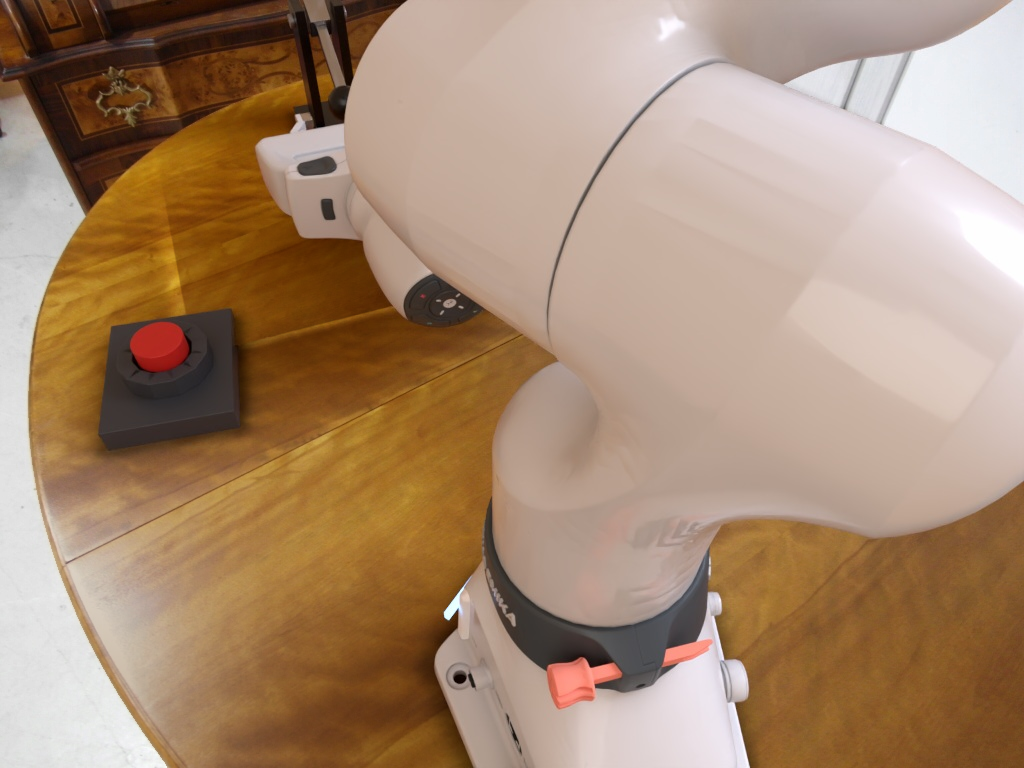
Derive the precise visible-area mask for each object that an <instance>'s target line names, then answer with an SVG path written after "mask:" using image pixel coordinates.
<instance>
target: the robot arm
mask: <svg viewBox="0 0 1024 768" xmlns="http://www.w3.org/2000/svg"><path fill="white" fill-rule="evenodd" d="M1012 2H1013V0H406V1H405V2H403V3H402V4H401V5H400V6H399V7H397V8H396V9H395V10H394V11H393V12H392V14H391V15H389V17H388V18H387V19H386V20H385V21H384V22H383V23H382V25H381V26H380V27H379V28H378V30H377V31H376V33H375V34H374V36H373V37H372V38H371V40H370V42H369V43H368V45H367V47H366V48H365V50H364V52H363V53H362V56H361V58H360V60H359V63H358V65H357V67H356V70H355V73H354V74H353V76H354V78H353V81H352V84H351V88H350V91H349V95H348V100H347V104H346V111H345V120H344V123H343V124H338V125H333V126H327V127H322V128H316V129H314V122H313V118H312V116H311V114H310V112H309V113H302V114H296V113H295V114H294V120H295V124H294V125H293V127H292V128H291V130H290V131H289V133H283V134H280V135H274V136H268V137H267V136H266V137H264V138H262V139H260V140H259V141H258V142H257V143H256V145H255V146H254V151H255V155H256V159H257V163H258V166H259V171H260V173H261V177H262V180H263V182H264V185H265V187H266V189H267V191H268V193H269V194H270V196H271V198H272V199H273V201H274V203H275V204H276V206H277V207H278V209H280V210H281V211H282V212H283V213H284V214H286V215H288V216H290V217H291V218H292V220H293V224H294V227H295V229H296V232H297V233H298V235H299V236H300V237H301V238H303V239H341V240H342V239H343V240H344V239H345V240H355V241H361V242H362V246H363V247H362V248H363V253H364V255H365V258H366V261H367V263H368V265H369V268H370V271H371V272H372V275H373V277H374V279H375V280H376V282H377V284H378V286H379V287H380V289H381V292H382V293H383V295H384V296H385V298H386V299H387V300H388V302H389V303H390V305H391V306H392V307H393V309H395V310H396V312H397V313H398V314H399V315H401V317H402V318H404V319H405V320H406V321H408V322H411V323H413V324H416V325H419V326H424V327H430V328H448V327H453V326H458V325H461V324H463V323H466V322H468V321H470V320H472V319H474V318H475V317H477V316H478V315H479V314H481V313H482V312H483V311H484V310H486V311H488V312H489V313H491V314H492V315H494V316H495V317H497V318H498V319H499V320H501V321H503V322H504V323H505V324H507V325H508V326H510V327H511V328H513V329H514V330H515V331H517V332H519V333H520V334H522V335H523V336H524V337H526V338H527V339H529V340H530V341H532V342H533V343H535V344H536V345H538V346H539V347H541V348H542V349H544V350H545V351H546V352H548V353H549V354H551V355H552V356H554V357H555V358H556V359H557V361H554V362H552V363H550V364H548V365H546V366H544V367H542V368H540V370H538V371H536V372H535V373H534V374H532V375H531V376H530V377H528V378H527V379H526V380H525V381H524V382H522V384H521V385H520V386H519V387H518V388H517V390H515V393H514V394H513V395H512V396H511V398H510V400H508V403H507V404H506V406H505V408H504V409H503V411H502V413H501V414H500V417H499V419H498V421H497V424H496V427H495V429H494V433H493V437H492V444H491V445H492V446H491V481H492V482H491V489H492V490H491V497H490V498H489V501H488V505H487V509H486V512H485V513H486V514H485V519H484V521H483V527H482V531H481V532H482V534H481V557H482V560H481V561H480V563H479V564H478V565H477V566H476V569H475V570H474V571H473V573H472V574H471V576H470V577H469V578H468V580H467V581H466V582H465V584H464V585H463V587H462V588H461V589H460V591H459V592H458V593H457V595H456V596H455V597H454V599H453V600H452V601H451V603H450V604H449V605H448V607H447V608H446V609H445V611H443V615H444V618H445V619H446V620H447V621H450V619H451V618H452V616H453V615H454V614H455V613H456V611H457V610H458V614H457V615H458V620H457V628H456V629H455V630H453V632H451V634H450V635H449V636H448V637H447V638H446V639H445V640H444V641H443V643H442V644H441V645H440V646H439V648H438V650H437V651H436V653H435V657H434V662H433V663H434V665H433V669H434V670H433V671H434V674H435V677H436V679H437V681H438V684H439V687H440V689H441V691H442V694H443V696H444V698H445V701H446V703H447V706H448V708H449V711H450V713H451V716H452V718H453V720H454V721H453V722H454V724H455V726H456V728H457V731H458V734H459V735H460V738H461V740H462V743H463V745H464V748H465V751H466V753H467V755H468V757H469V760H470V762H471V765H472V767H473V768H751V766H750V763H749V759H748V755H747V749H746V746H745V742H744V737H743V732H742V729H741V724H740V720H739V716H738V711H737V709H736V708H737V707H736V703H743V702H745V701H747V700H748V699H749V698H748V697H749V693H750V692H749V691H750V687H749V679H748V674H747V671H746V668H745V666H744V664H743V663H742V661H741V660H739V659H736V658H734V659H725V656H724V652H723V649H722V644H721V639H720V635H719V631H718V627H717V623H716V618H715V617H716V616H720V615H721V614H722V613H723V605H722V604H723V603H722V599H721V596H720V594H719V592H717V591H709V582H710V581H711V576H712V575H711V574H712V562H711V561H712V560H711V559H712V558H711V555H710V554H711V553H710V550H711V549H710V548H711V546H710V545H711V544H712V542H713V540H715V539H714V538H715V537H716V535H717V533H718V532H719V530H720V529H721V528H722V526H723V525H725V524H729V523H735V522H743V521H753V520H754V521H756V520H762V521H763V520H773V521H774V520H776V521H787V522H788V521H789V522H796V523H797V522H798V523H804V524H809V525H814V526H821V527H824V528H829V529H833V530H837V531H841V532H845V533H850V534H853V535H856V536H861V537H864V538H867V539H872V540H874V539H875V540H877V539H887V538H898V537H903V536H904V537H905V536H908V535H913V534H914V535H915V534H919V533H923V532H927V531H931V530H934V529H937V528H940V527H943V526H947V525H950V524H953V523H955V522H957V521H960V520H962V519H964V518H966V517H969V516H972V515H973V514H975V513H977V512H979V511H981V510H982V509H985V508H986V507H988V506H990V505H991V504H993V503H994V502H997V501H999V500H1000V499H1001V498H1003V497H1004V496H1006V495H1007V494H1009V493H1010V492H1011V491H1012V490H1013V489H1015V488H1016V487H1017V486H1019V485H1020V484H1022V483H1023V482H1024V203H1022V202H1020V201H1019V200H1018V199H1016V198H1014V197H1013V196H1012V195H1011V194H1010V193H1009V192H1006V191H1005V190H1003V189H1002V188H1000V187H999V186H997V185H995V183H992V182H991V181H989V180H988V179H986V178H985V177H984V176H982V175H980V174H979V173H977V172H976V171H975V170H973V169H971V168H969V167H968V166H966V165H965V164H964V163H962V162H960V161H958V160H957V159H956V158H954V157H952V156H951V155H950V154H948V153H947V152H945V151H943V150H942V149H940V148H939V147H937V146H936V145H933V144H931V143H928V142H925V141H923V140H921V139H918V138H916V137H913V136H911V135H908V134H906V133H903V132H901V131H899V130H896V129H894V128H891V127H889V126H886V125H883V124H881V123H879V122H876V121H874V120H871V119H869V118H868V117H867V118H866V117H864V116H861V115H859V114H857V113H855V112H852V111H849V110H846V109H844V108H841V107H839V106H837V105H834V104H831V103H830V102H827V101H824V100H821V99H820V98H817V97H814V96H812V95H809V94H807V93H805V92H802V91H800V90H798V89H795V88H792V87H790V86H787V85H786V84H787V83H790V82H792V81H793V80H796V79H798V78H800V77H802V76H804V75H807V74H809V73H811V72H814V71H817V70H819V69H820V70H821V69H822V68H825V67H829V66H832V65H838V64H841V63H845V62H850V61H856V60H865V59H871V58H879V57H889V56H895V55H901V54H905V53H911V52H912V53H913V52H916V51H921V50H924V49H927V48H932V47H934V46H937V45H940V44H942V43H945V42H948V41H950V40H953V39H955V38H956V37H958V36H960V35H962V34H964V33H965V32H967V31H969V30H971V29H972V28H974V27H976V26H978V25H980V24H981V23H983V22H984V21H986V20H987V19H989V18H991V17H992V16H994V15H995V14H997V13H998V12H999V11H1000V10H1003V8H1004V7H1006V6H1007V5H1009V4H1010V3H1012ZM460 675H462V676H464V677H465V678H466V679H465V681H464V682H463V683H457V682H455V680H454V679H455V678H456V677H457V676H460Z"/></svg>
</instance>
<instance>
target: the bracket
mask: <svg viewBox="0 0 1024 768" xmlns="http://www.w3.org/2000/svg"><path fill="white" fill-rule="evenodd" d="M325 2H326V5H327V8H328V11H329V14H330V17H331V30H332V34H331V36H330V37H331V41H332V44H333V47H334V50H335V53H336V56H337V59H338V62H339V65H340V68H341V71H342V74H343V78H344V81H345V84H346V85H347V86H351V84H352V81H353V78H354V70H353V62H352V57H351V50H350V42H349V35H348V28H347V21H348V13H347V10H346V7H345V5H344V4H343V2H342V1H341V0H325ZM287 6H288V11H289V13H287V14H286V16H287V23H288V25H289V28H290V29H291V30H292V32H293V36H294V42H295V46H296V53H297V58H298V62H299V67H300V72H301V78H302V81H303V87H304V93H305V97H306V104H303V105H297V106H293V107H292V109H293V110H294V113H295V115H296V114H302V113H309V112H310V114H311V116H312V118H313V122H314V129H316V128H322V127H327V126H333V125H338V124H343V123H344V122H342V121H339V120H337V119H336V118H335V117H334V116H333V115H332V114H331V112H330V110H329V107H328V100H325V101H322V98H321V94H320V93H321V92H320V88H319V83H318V77H317V71H316V65H315V60H314V54H313V50H312V44H311V38H310V31H309V28H308V25H307V21H306V16H305V11H304V6H303V5H302V3H301V1H300V0H287Z"/></svg>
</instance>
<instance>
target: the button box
mask: <svg viewBox="0 0 1024 768" xmlns="http://www.w3.org/2000/svg"><path fill="white" fill-rule="evenodd" d="M157 322H170V323H173V324H176V325H177V326H179V327H180V328H181V329H182V331H183V334H184V336H185V338H186V341H187V343H188V345H189V354H188V356H187V358H186V359H185V361H184V362H183V363H182V364H180V365H179V366H177V367H175V368H173V369H171V370H169V371H164V372H149V371H146V370H144V369H143V368H141V367H140V366H139V364H138V362H137V360H136V358H135V356H134V355H133V353H132V351H131V348H130V342H131V339H132V337H133V336H134V334H135V333H136V332H137V331H139V330H140V329H141V328H143V327H145V326H147V325H150V324H153V323H157ZM235 334H236V333H235V315H234V312H233V310H232V308H231V307H229V308H221V309H215V310H208V311H202V312H195V313H189V314H182V315H177V316H176V315H175V316H169V317H163V318H162V317H161V318H156V319H155V318H154V319H149V320H143V321H135V322H129V323H124V324H117V325H116V324H115V325H111V326H110V332H109V338H108V339H109V340H108V349H107V358H106V363H105V364H106V365H105V376H104V381H103V390H102V399H101V408H100V415H99V425H98V433H97V434H98V437H99V438H100V440H101V442H102V443H103V444H104V446H105V447H106V449H107V451H109V452H110V451H115V450H116V451H117V450H121V449H126V448H127V449H128V448H133V447H137V446H145V445H149V444H155V443H160V442H166V441H172V440H177V439H182V438H189V437H194V436H199V435H200V436H201V435H205V434H206V435H207V434H211V433H217V432H222V431H223V432H224V431H228V430H234V429H239V428H241V409H240V408H241V407H240V405H241V404H240V379H239V378H240V377H239V376H240V374H239V373H240V372H239V371H240V370H239V344H236V339H235V338H236V337H235Z"/></svg>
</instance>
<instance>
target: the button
mask: <svg viewBox="0 0 1024 768" xmlns="http://www.w3.org/2000/svg"><path fill="white" fill-rule="evenodd" d="M130 348H131V351H132V353H133V355H134V356H135V358H136V360H137V362H138V364H139V366H140V367H141V368H143V369H144V370H146V371H149V372H164V371H169V370H171V369H173V368H175V367H177V366H179V365H180V364H182V363H183V362H184V361H185V359H186V358H187V356H188V354H189V345H188V343H187V341H186V338H185V336H184V334H183V331H182V329H181V328H180V327H179V326H177V325H176V324H173V323H170V322H157V323H153V324H150V325H147V326H145V327H143V328H141V329H140V330H139V331H137V332H136V333H135V334H134V336H133V337H132V339H131V342H130Z"/></svg>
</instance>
